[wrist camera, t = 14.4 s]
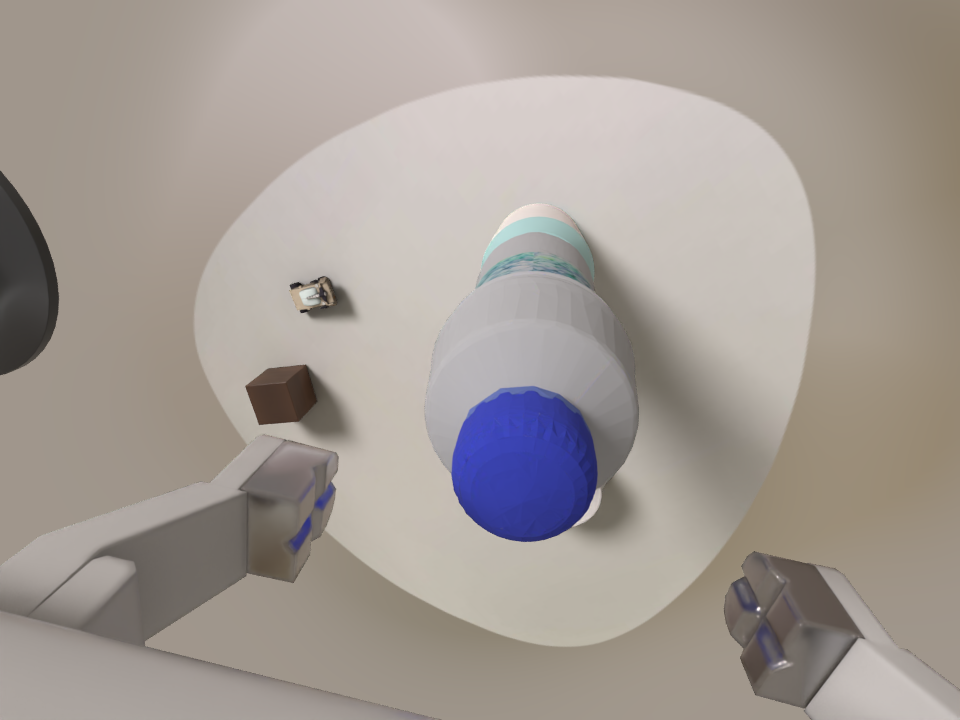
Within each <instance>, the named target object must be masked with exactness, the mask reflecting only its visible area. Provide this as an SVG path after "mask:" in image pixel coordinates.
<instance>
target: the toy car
mask: <svg viewBox="0 0 960 720" xmlns="http://www.w3.org/2000/svg"><path fill="white" fill-rule="evenodd" d="M329 281H330V280H328V278H327V277H325V276H323V277H320V278H318V280H314V281H312V282H310V284H306V285H302V284H301V283H299V282H297V283H294V284H291V285H290V287H291V290H289V291H290V294H291V296H292V298H293V301H294V303H295V306H296V308H297V310H300V312H301V313H305V312H308V311H310V309H312V308H316V307H320V306H324V307H322V308H327V307H329V306H334V305H337V300H336V298H335V297H336V296H335V294H334V292H333V290H332V289H333V288H332V286H331V284H330V282H329ZM313 282H314V283H313ZM322 308H320V309H322Z"/></svg>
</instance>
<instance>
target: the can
mask: <svg viewBox="0 0 960 720" xmlns="http://www.w3.org/2000/svg"><path fill="white" fill-rule="evenodd" d="M529 232H542V233H546V234H549V235H553V236H556V237H559V238H561V239H562V240H564V241H566V242H568V243H570V244H571V245H572V246H573V247H575V248H576V249H577V250H578V251H579V253H580V254H581V255H582V257H583V258H584V260H585V261H586V263H587V265H588V267H589V269H590V272H591V275H592V279H593V281H594V261H593V257H592V254H591V251H590V249H589V247H588V245H587V243H586V241H585V240H584V238H583V236H582V234H581V233H580V231H579V229H578V227H577V226H576V224H575V222H574V221H573V220H572V218H571V217H570V216H569V215H568V214H566V213H565V212H564V211H562V210H561V209H559V208H557V207H555V206H552V205H548V204H541V203H538V204H530V205H526V206H523V207H521V208H518V209H517V210H515V211H513V212H512V213H511V214H510V215H508V216H507V217H506V219H505V220H504V221H503V222H502V224H501V225H500V227H499V228H498V230H497V232H496V234H495V235H494V237H493V239H492V240H491V242H490V244H489V246H488V247H487V249H486V251H485V254H484V257H483V260H482V266H483V264H484V263H485V261H486V260H487V258H488V257H489V255H490V254H491V253H492V251H493V250H494V249H495V248H497V247H498V246H499V245H500V244H502V243H504V242H505V241H507V240H509V239H511V238H513V237H515V236H519V235H522V234H525V233H529ZM482 266H481V269H482Z"/></svg>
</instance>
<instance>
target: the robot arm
mask: <svg viewBox="0 0 960 720" xmlns="http://www.w3.org/2000/svg"><path fill="white" fill-rule="evenodd" d="M338 459H339V456H338V455H337V453H336V452H332V451H329V450H325V449H321V448H317V447H313V446H309V445H305V444H302V443H298V442H294V441H290V440H288V441H287V440H285V439H281V438H277V437H273V436H269V435H265V434H263V435H259V436H257V437H256V438H255V439H254V440H253V441H252V442H251V443H250V444H249V445H248V446H247V447H246V448H244V449H243V451H241V452H240V453H239V454H238V455H237V456H236V457H235V458H234V459H233V460H232V461H231V462H230V463H229V464H228V465H227V466H226V467H225V468H224V469H223V470H222V471H221V472H220V473H219V474H218V475H217V476H216V477H215V478H214V479H213V480H212V481H211V482H210V483H207V482H203V481H200V482H198V483H194V484H192V485H188V486H186V487H183V488H180V489H177V490H174V491H171V492H168V493H165V494H162V495H159V496H156V497H153V498H151V499H148V500H144V501H141V502H138V503H136V504H133V505H130V506H127V507H124V508H121V509H118V510H115V511H112V512H109V513H106V514H103V515H100V516H98V517H94V518H91V519H89V520H86V521H83V522H80V523H77V524H74V525H71V526H68V527H65V528H62V529H59V530H56V531H53V532H50V533H47V534H44V535H42V536H39V537H38V538H37V539H35V540H34V541H33V542H31V543H30V544H29V545H27V546H26V547H25V548H23V549H22V550H21V551H19V552H18V553H17V554H16V555H14V556H13V557H12V558H10V559H9V560H7V561H6V562H5V563H3V564H2V565H1V566H0V720H440V719H436V718H432V717H428V716H424V715H420V714H416V713H412V712H408V711H404V710H400V709H396V708H392V707H388V706H384V705H380V704H376V703H372V702H367V701H364V700H360V699H356V698H351V697H348V696H343V695H340V694H336V693H331V692H327V691H323V690H319V689H315V688H311V687H307V686H303V685H299V684H295V683H291V682H287V681H283V680H279V679H275V678H271V677H266V676H263V675H259V674H255V673H251V672H247V671H242V670H239V669H234V668H231V667H226V666H222V665H218V664H214V663H210V662H206V661H202V660H198V659H194V658H190V657H186V656H182V655H178V654H174V653H170V652H166V651H161V650H158V649H154V648H150V647H146V646H145V641H146V640H147V639H149V638H150V637H152V636H154V635H155V634H157V633H158V632H160V631H161V630H163V629H164V628H166V627H167V626H169V625H171V624H172V623H174V622H175V621H177V620H178V619H180V618H181V617H183V616H185V615H186V614H188V613H189V612H191V611H192V610H194V609H196V608H197V607H199V606H200V605H202V604H203V603H205V602H207V601H208V600H210V599H211V598H213V597H214V596H216V595H217V594H219V593H220V592H222V591H224V590H225V589H227V588H228V587H230V586H231V585H233V584H235V583H236V582H238V581H239V580H241V579H242V578H244V577H245V576H246V573H249V574H254V575H258V576H263V577H268V578H273V579H278V580H282V581H287V582H291V583H294V581H295V579H296V578H297V576H298V574H299V573H300V571H301V569H302V567H303V566H304V564H305V562H306V561H307V559H308V557H309V556H310V549H311V541H313V540H315V539H317V538H319V537H320V536H321V535H322V533H323V531H324V529H325V527H326V526H327V523H328V520H329V518H330V515H331V513H332V509H333V505H334V500H335V493H336V488H335V487H334V485H333V483H332V482H331V481H332V479H333V477H334V476H335V474H336V473H337V471H338ZM741 567H742V570H743V573H744V577H742V578H741V579H738V580H737V581H735V582H733V583H732V584H731V586H730V588H729V590H728V592H727V594H726V596H725V604H724V614H725V620H726V624H727V627H728V630H729V632H730V635H731V636H732V637H733V638H734V639H735V640H736V641H737V642H738V643H739V644H740V645H741V646H742V647H743V652H742V655H741V657H740V659H741V661H742V664H743V667H744V669H745V671H746V674H747V676H748V679H749V681H750V683H751V686H752V688H753V691H754V693H755V695H757V696H761V697H764V698H768V699H772V700H775V701H779V702H783V703H786V704H790V705H794V706H798V707H801V708H805V710H804V712H805V713H806V714H807V715H808V716H809V718H810V719H811V720H960V689H959V688H957V687H956V686H955V685H953V684H952V683H951V682H949V681H948V680H947V679H945V678H944V677H943V676H941V675H940V674H939V673H938V672H936V671H935V670H934V669H932V668H931V667H930V666H928V665H927V664H926V663H924V662H923V661H922V660H921V659H919V658H918V657H916V656H915V655H914V654H913V653H911V652H910V651H909V650H907V649H903V648H899V647H898V646H897V644H896V643H895V642H894V640H893V639H892V638H891V636H890V635H889V634H888V632H887V631H886V630H885V628H884V627H883V626H882V625H881V623H880V622H879V621H878V619H877V618H876V617H875V615H874V614H873V612H872V611H871V610H870V608H869V607H868V606H867V605H866V603H865V602H864V600H863V599H862V598H861V596H860V595H859V594H858V592H857V591H856V590H855V588H854V587H853V586H852V585H851V583H850V582H849V581H848V579H847V578H846V576H845V575H844V574H842V573H841V572H839V571H838V570H837V569H835V568H830V567H825V566H821V565H816V564H811V563H802V562H798V561H794V560H789V559H785V558H781V557H776V556H772V555H768V554H764V553H759V552H755V551H754V552H753V553H751V554H750V555H748V556H747V558H746V559H745V561H744V563H743V564H742V566H741Z"/></svg>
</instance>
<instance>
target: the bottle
mask: <svg viewBox="0 0 960 720" xmlns="http://www.w3.org/2000/svg"><path fill="white" fill-rule="evenodd" d="M425 421H426V426H427V431H428V435H429V438H430V440H431V443H432V445H433V448H434V450H435V452H436V454H437V455H438V457H439V458H440V460H441V462H442V463H443V465H444V466H445V467H446V468H447V469H448V470H449V472H450V473H451V475H452V481H453V487H454V492H455V493H456V495H457V497H458V500H459V503H460V505H461V506H462V507H463V508H464V510H465V512H466V514H467V515H469V516H470V517H471V518H472V519H473V520H474V522H476V523H477V524H478V525H479V526H481V527H482V528H484V529H485V530H487V531H488V532H490V533H492V534H494V535H496V536H498V537H502V538H505V539H508V540H514V541H521V542H532V541H540V540H545V539H548V538H551V537H554V536H557V535H559V534H561V533H562V532H564V531H566V530H568V529H569V528H571V527H572V526H573V525H574V524H575V523H577V522H578V521H579V520H580V519H581V518H582V517H583V516H584V514H585V513H586V512H587V511H588V509H589V506H590V504H591V502H592V500H593V497H594V494H595V491H596V490H597V489H599V488H600V487H601V486H603V485H604V484H605V483H606V482H607V481H608V480H610V479H611V478H612V477H613V476H614V474H615V473H616V472H617V471H618V470H619V468H620V467H621V466H622V465H623V464H624V462H625V460H626V458H627V456H628V455H629V453H630V451H631V449H632V447H633V443H634V440H635V436H636V433H637V429H638V421H639V405H638V397H637V389H636V381H635V360H634V353H633V350H632V346H631V343H630V340H629V338H628V335H627V333H626V331H625V329H624V328H623V326H622V324H621V323H620V321H619V320H618V319H617V317H616V316H615V315H614V313H613V312H612V310H611V309H610V307H609V306H608V305H607V304H606V303H605V302H604V301H603V299H602V298H600V297H599V296H598V295H597V294H596V293H595V290H594V283H593V279H592V275H591V272H590V269H589V267H588V265H587V263H586V261H585V260H584V258H583V257H582V255H581V254H580V253H579V251H578V250H577V249H576V248H575V247H573V246H572V245H571V244H570V243H568V242H566V241H564V240H562V239H561V238H559V237H556V236H553V235H549V234H546V233H542V232H529V233H525V234H522V235H519V236H515V237H513V238H511V239H509V240H507V241H505V242H504V243H502V244H500V245H499V246H498V247H497V248H495V249H494V250H493V251H492V253H491V254H490V255H489V257H488V258H487V260H486V261H485V263H484V264H483V266H482V269H481V271H480V273H479V276H478V279H477V283H476V287H475V290H473V291H472V292H471V293H470V294H469V295H468V296H467V297H466V298H465V299H464V300H463V301H462V302H461V303H460V304H459V305H458V306H457V308H456V309H455V310H454V312H453V313H452V314H451V315H450V316H449V318H448V319H447V320H446V322H445V323H444V325H443V327H442V329H441V330H440V333H439V335H438V338H437V340H436V342H435V346H434V350H433V354H432V362H431V371H430V376H429V382H428V387H427V392H426V399H425Z"/></svg>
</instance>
